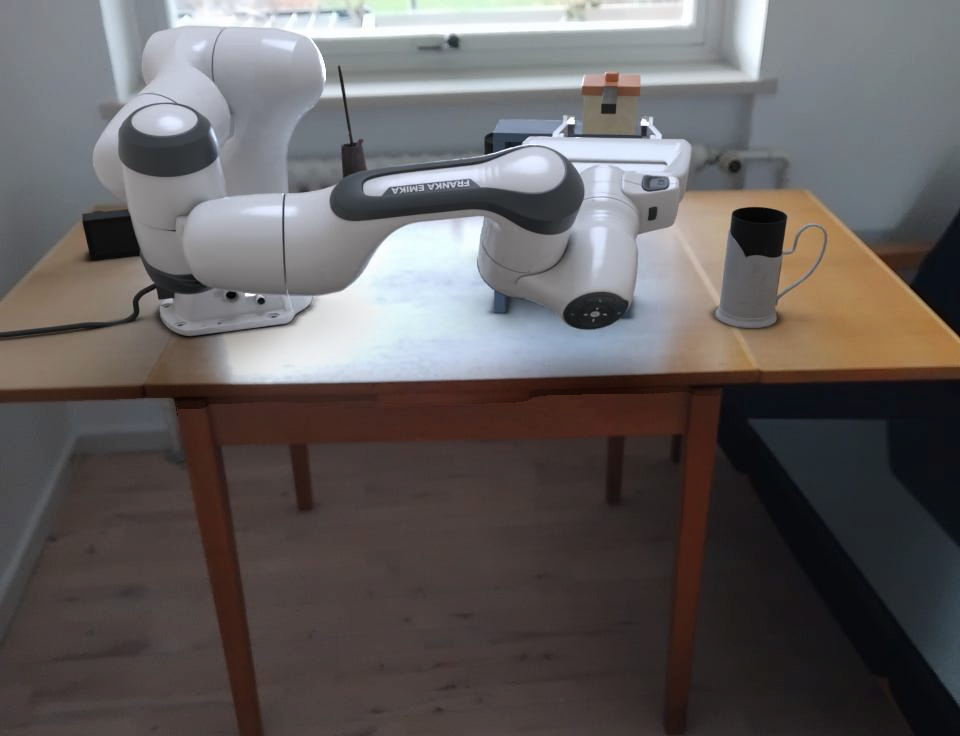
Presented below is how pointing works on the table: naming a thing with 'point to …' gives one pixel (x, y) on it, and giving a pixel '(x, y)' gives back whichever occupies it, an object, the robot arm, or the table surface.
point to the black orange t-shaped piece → (610, 88)
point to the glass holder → (756, 267)
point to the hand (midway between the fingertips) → (607, 119)
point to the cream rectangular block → (609, 116)
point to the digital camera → (110, 234)
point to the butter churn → (351, 144)
